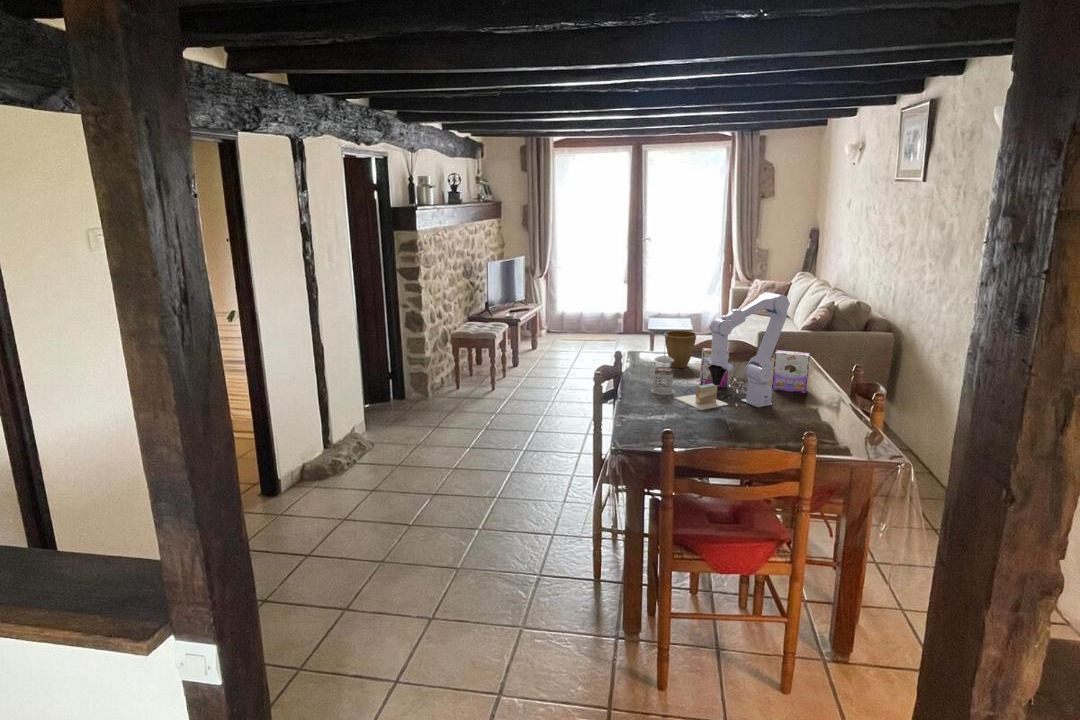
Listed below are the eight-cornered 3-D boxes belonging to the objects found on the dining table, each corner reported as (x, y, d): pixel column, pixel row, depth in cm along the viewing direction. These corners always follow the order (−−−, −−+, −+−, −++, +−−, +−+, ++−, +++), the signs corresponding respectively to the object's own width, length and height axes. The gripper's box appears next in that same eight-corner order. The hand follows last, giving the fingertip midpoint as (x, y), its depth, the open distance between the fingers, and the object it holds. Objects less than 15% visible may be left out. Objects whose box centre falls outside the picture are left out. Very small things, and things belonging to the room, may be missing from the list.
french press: (672, 395, 276) (676, 336, 270) (644, 392, 280) (647, 334, 274) (675, 389, 285) (679, 331, 279) (648, 386, 289) (651, 329, 283)
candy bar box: (700, 387, 288) (703, 350, 284) (699, 384, 293) (701, 347, 289) (727, 388, 287) (730, 351, 283) (725, 385, 292) (728, 348, 288)
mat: (728, 405, 265) (728, 404, 265) (700, 409, 259) (700, 409, 259) (701, 394, 279) (701, 393, 279) (674, 398, 273) (674, 397, 273)
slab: (716, 402, 267) (717, 385, 266) (700, 404, 264) (701, 387, 262) (711, 400, 270) (712, 383, 268) (695, 402, 266) (696, 385, 265)
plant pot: (676, 360, 333) (678, 329, 329) (700, 366, 322) (703, 334, 318) (656, 365, 324) (658, 332, 320) (680, 371, 313) (683, 338, 309)
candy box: (806, 390, 286) (811, 352, 282) (805, 393, 281) (810, 355, 277) (772, 386, 291) (776, 349, 287) (771, 389, 286) (774, 352, 282)
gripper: (698, 347, 261) (696, 380, 264) (724, 355, 248) (721, 390, 252) (712, 345, 264) (710, 378, 267) (738, 353, 251) (735, 388, 255)
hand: (716, 384), depth 260 cm, fingers closed
